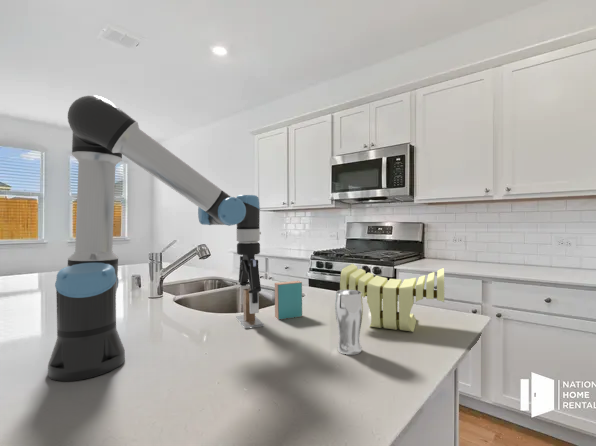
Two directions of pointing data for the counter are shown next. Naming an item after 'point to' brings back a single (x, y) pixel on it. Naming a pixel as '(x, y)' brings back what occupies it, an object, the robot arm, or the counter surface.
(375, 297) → the slatted curved stool
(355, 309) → the beer glass
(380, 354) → the counter surface
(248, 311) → the trowel
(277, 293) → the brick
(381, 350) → the counter surface
